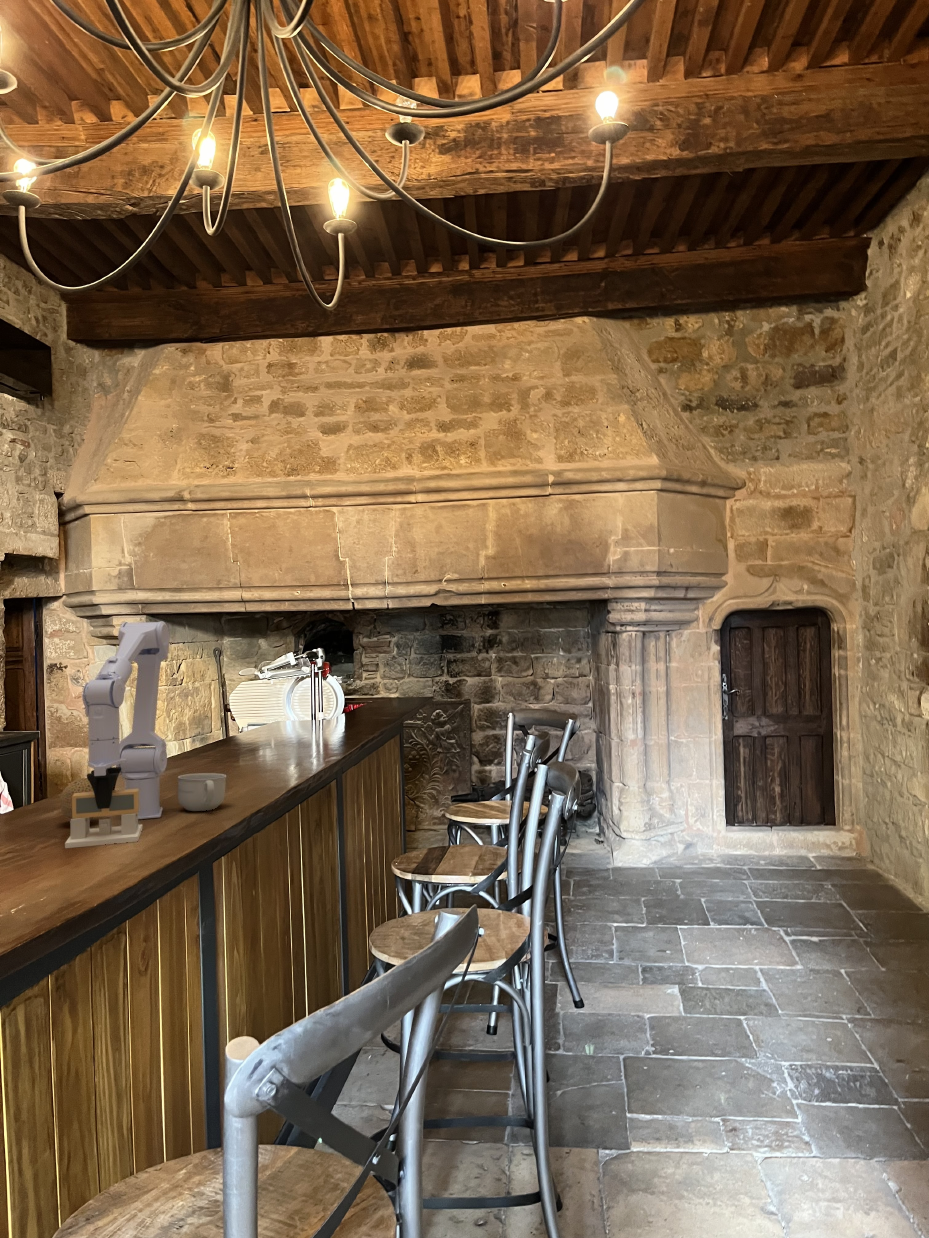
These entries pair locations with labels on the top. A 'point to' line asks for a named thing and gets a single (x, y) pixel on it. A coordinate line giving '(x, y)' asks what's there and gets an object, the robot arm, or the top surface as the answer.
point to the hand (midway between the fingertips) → (105, 806)
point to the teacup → (201, 791)
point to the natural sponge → (70, 790)
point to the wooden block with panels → (120, 805)
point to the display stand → (103, 831)
